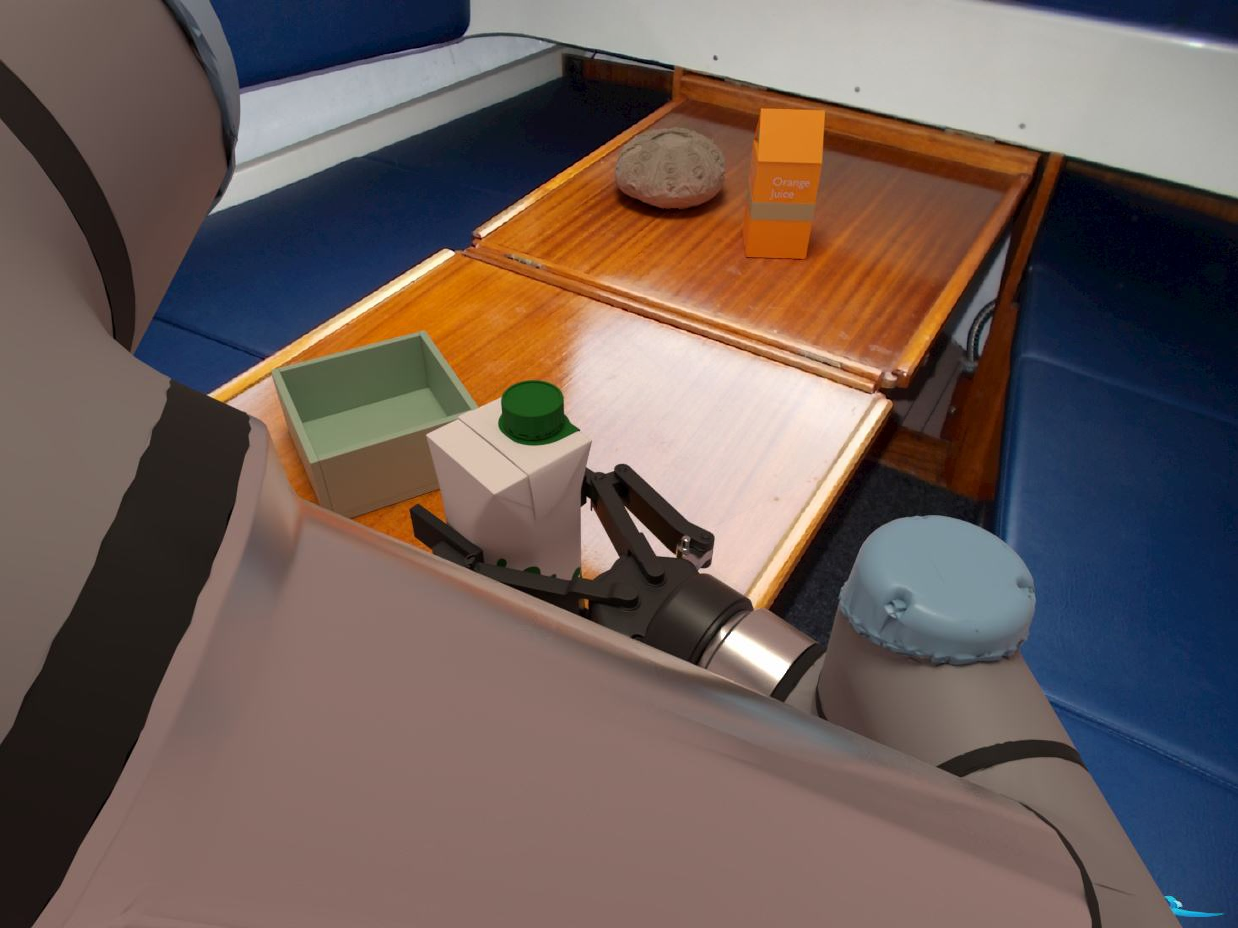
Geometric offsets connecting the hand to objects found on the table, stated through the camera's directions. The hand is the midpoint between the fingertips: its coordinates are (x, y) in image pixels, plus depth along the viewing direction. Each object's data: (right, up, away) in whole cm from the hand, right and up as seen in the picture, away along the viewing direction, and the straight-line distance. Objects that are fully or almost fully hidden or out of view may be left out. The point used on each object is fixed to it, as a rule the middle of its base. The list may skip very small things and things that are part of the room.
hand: (470, 484), depth 62 cm
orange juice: (+34, +34, +66) cm, 82 cm away
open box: (-14, +3, +30) cm, 33 cm away
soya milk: (+3, -10, +5) cm, 12 cm away
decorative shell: (+19, +45, +79) cm, 93 cm away
